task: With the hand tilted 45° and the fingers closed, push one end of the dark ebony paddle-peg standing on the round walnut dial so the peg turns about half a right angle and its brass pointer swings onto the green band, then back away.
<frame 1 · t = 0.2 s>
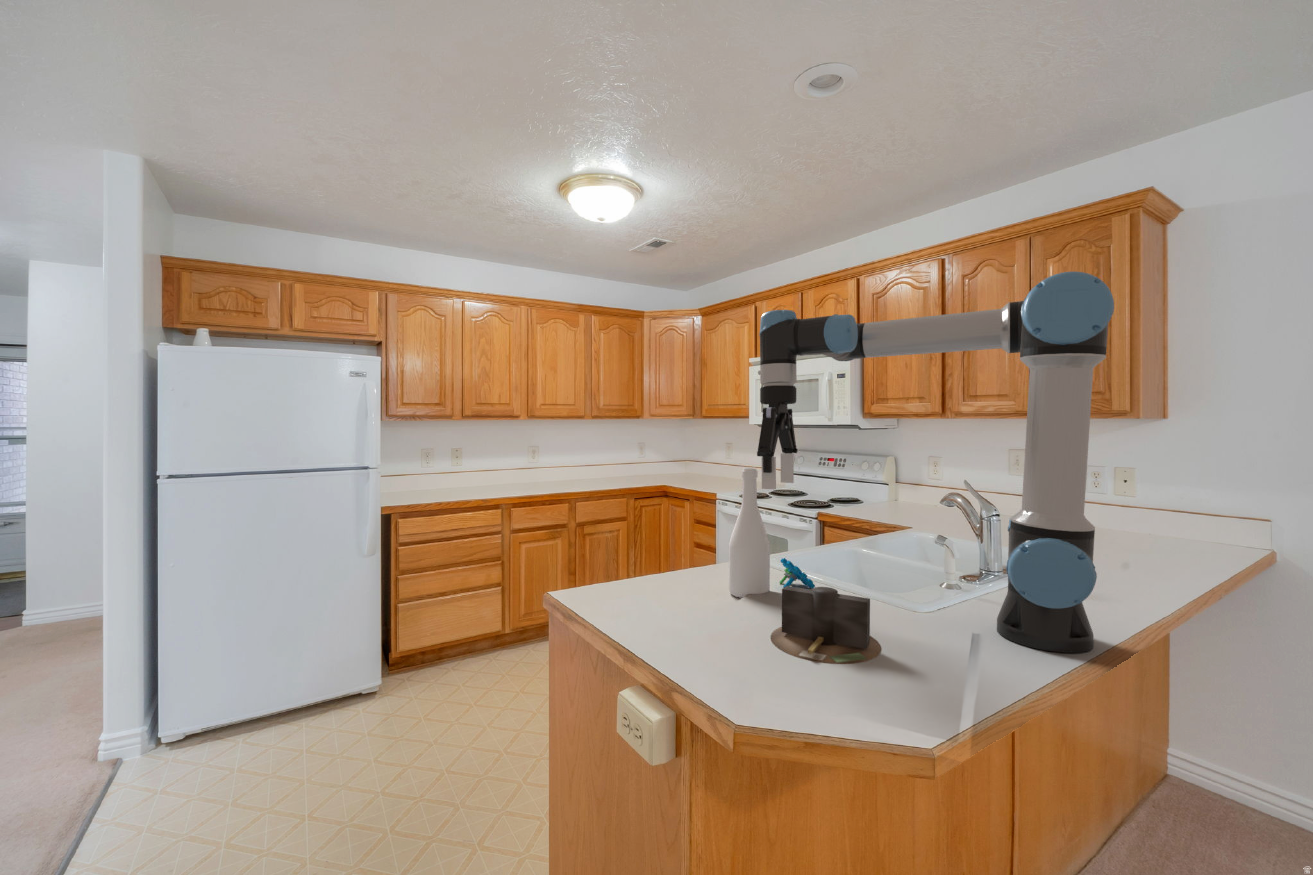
hand: (778, 485, 121), 27 cm above the counter, tool pointing down, fingers open, 13 cm apart
dial: (824, 649, 102), on the counter
wine bottle: (749, 594, 135), on the counter
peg: (819, 620, 99), point 6 cm above the counter, hinge at 0.0°
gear: (796, 588, 140), on the counter
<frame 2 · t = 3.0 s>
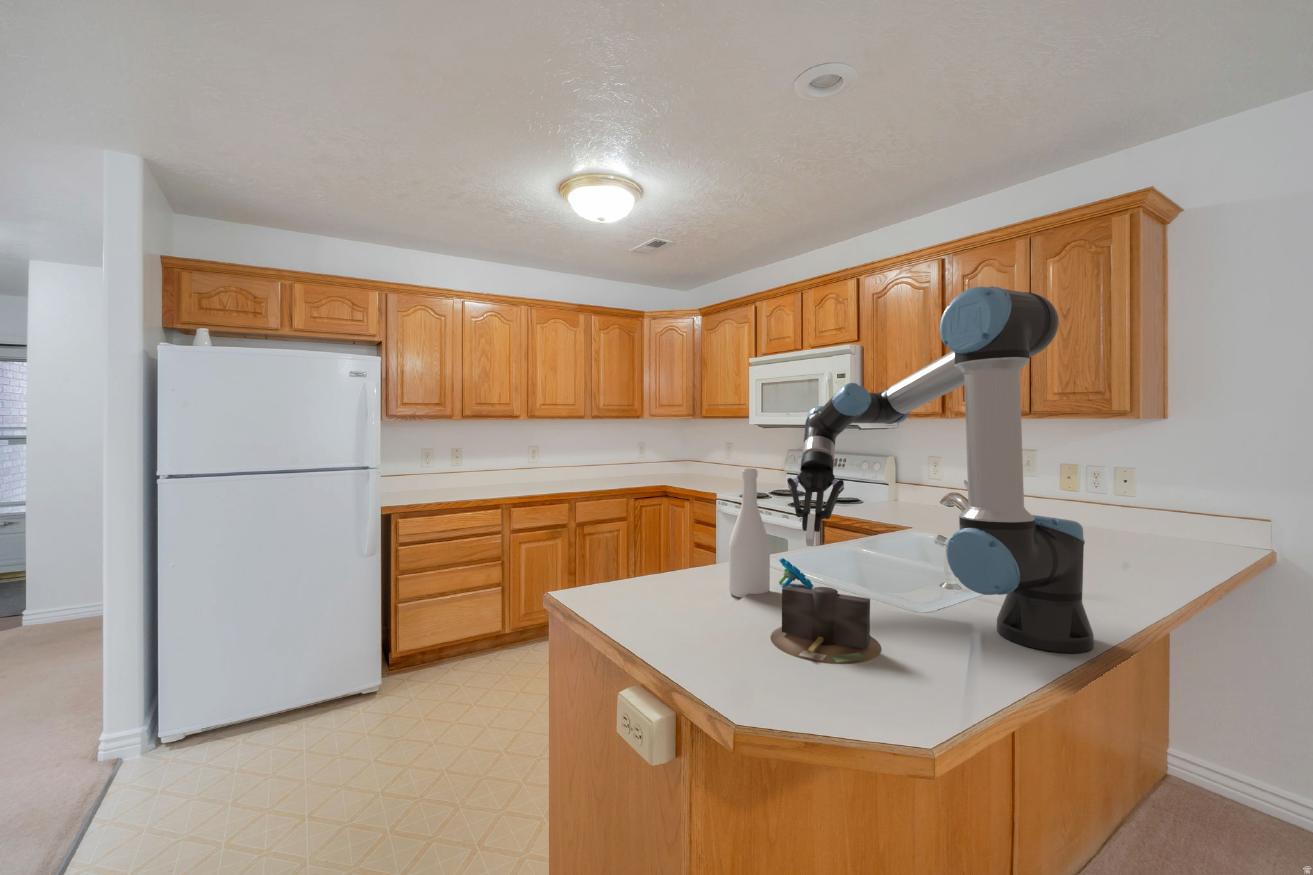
hand: (809, 542, 122), 15 cm above the counter, tool tilted 45°, fingers closed
nothing on the counter moved.
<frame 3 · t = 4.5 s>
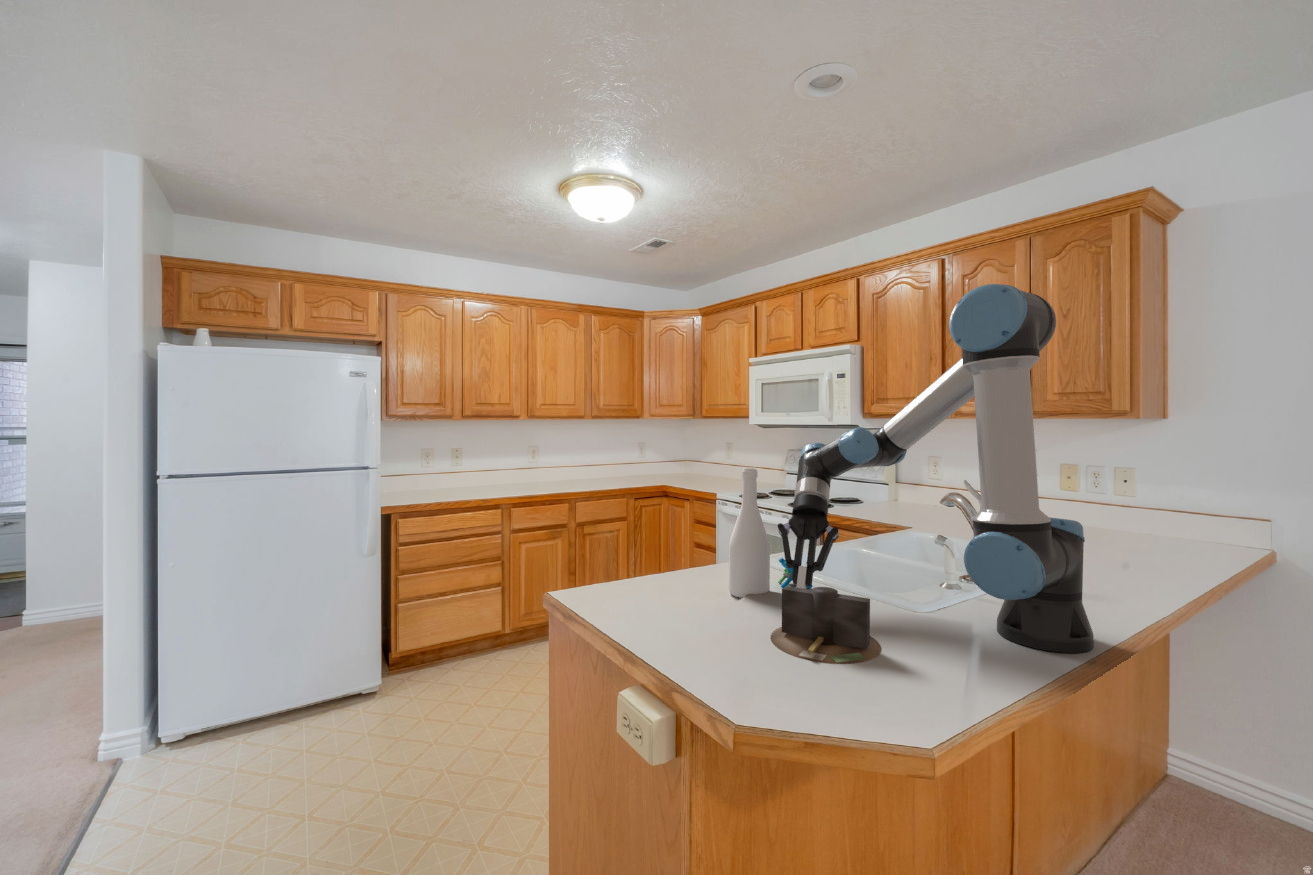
hand: (800, 598, 112), 6 cm above the counter, tool tilted 45°, fingers closed
nothing on the counter moved.
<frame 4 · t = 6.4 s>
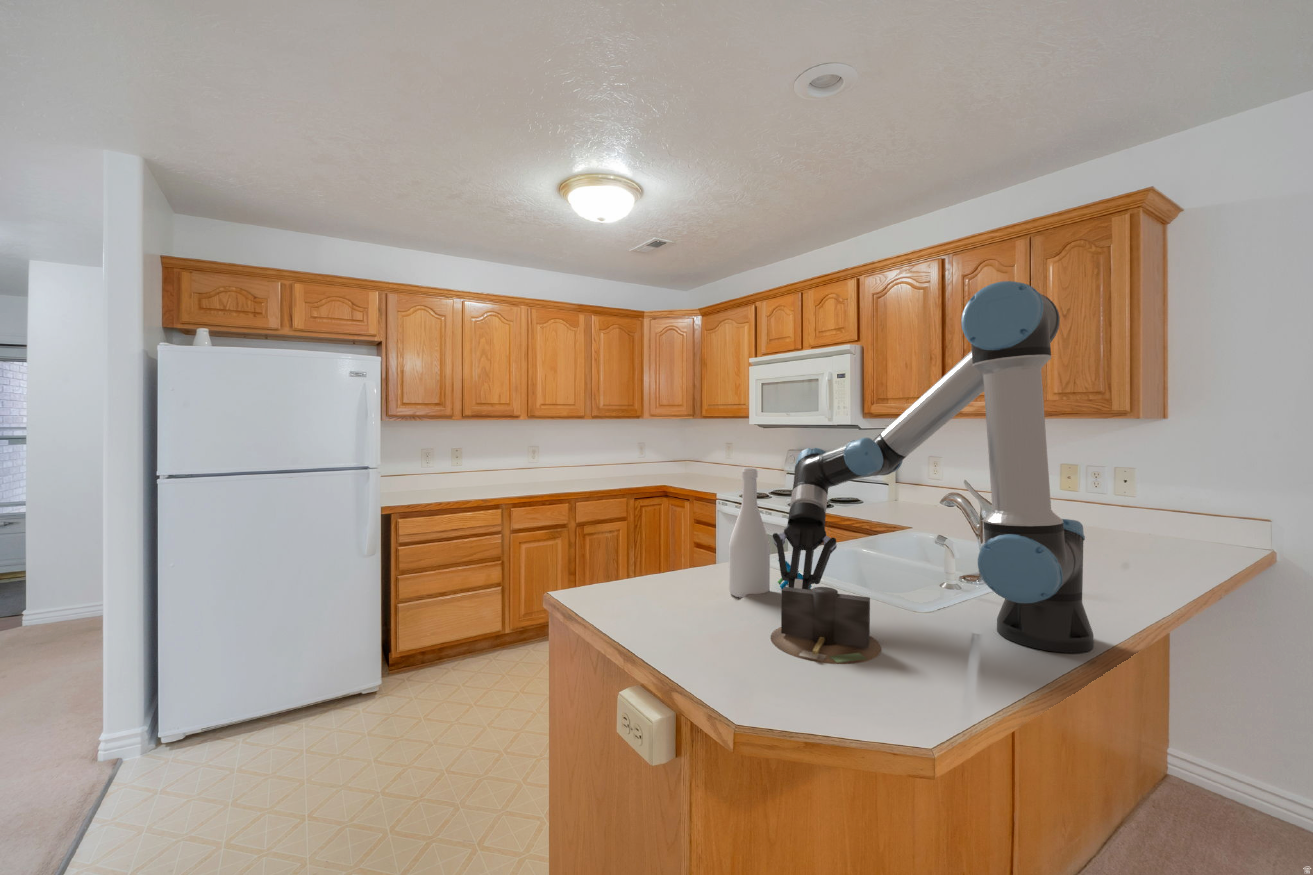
hand: (795, 613, 107), 5 cm above the counter, tool tilted 45°, fingers closed
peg: (821, 621, 99), point 6 cm above the counter, hinge at 5.0°, touching gripper
everything else where it was.
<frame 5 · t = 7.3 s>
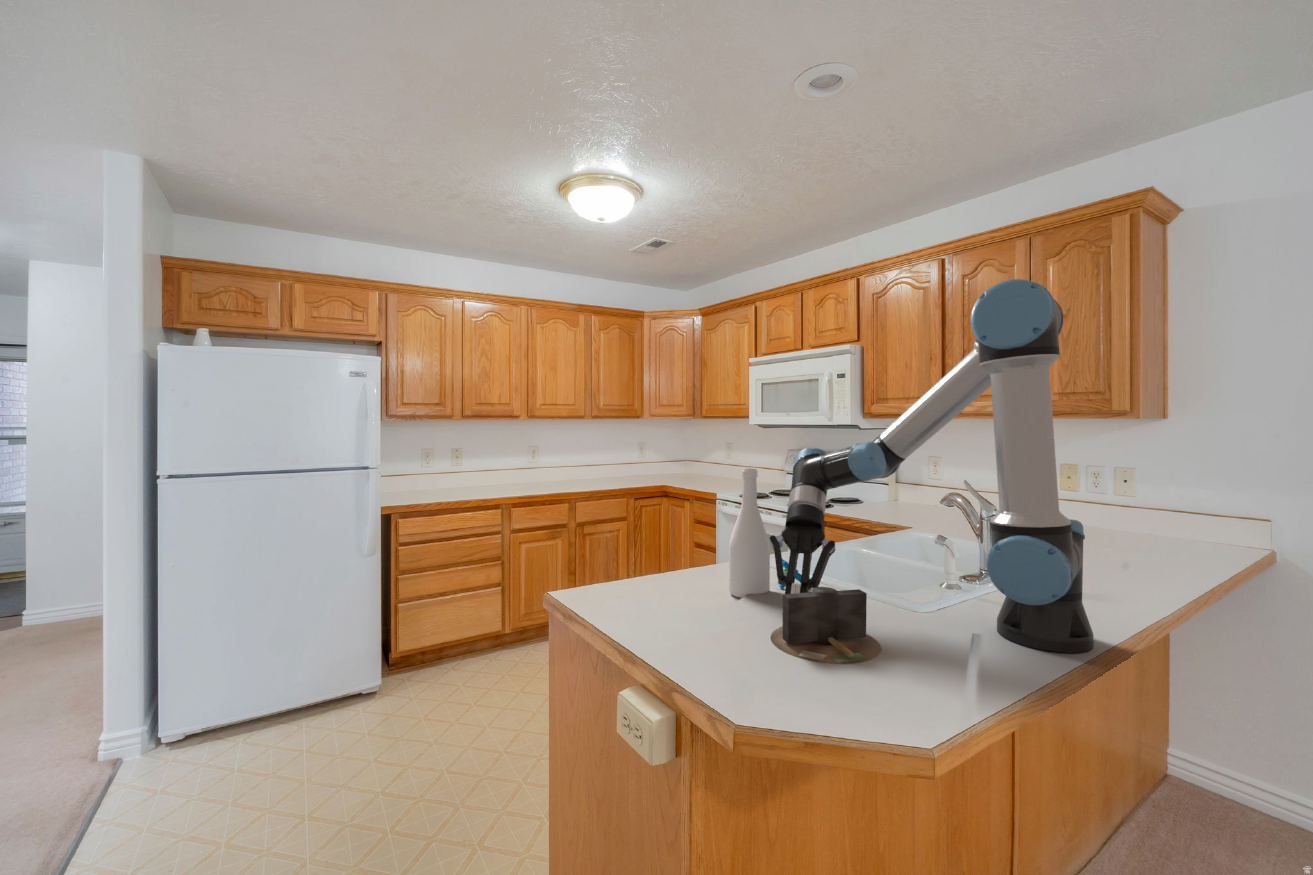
hand: (793, 619, 104), 5 cm above the counter, tool tilted 45°, fingers closed
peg: (834, 621, 99), point 6 cm above the counter, hinge at 42.5°, touching gripper
everything else where it was.
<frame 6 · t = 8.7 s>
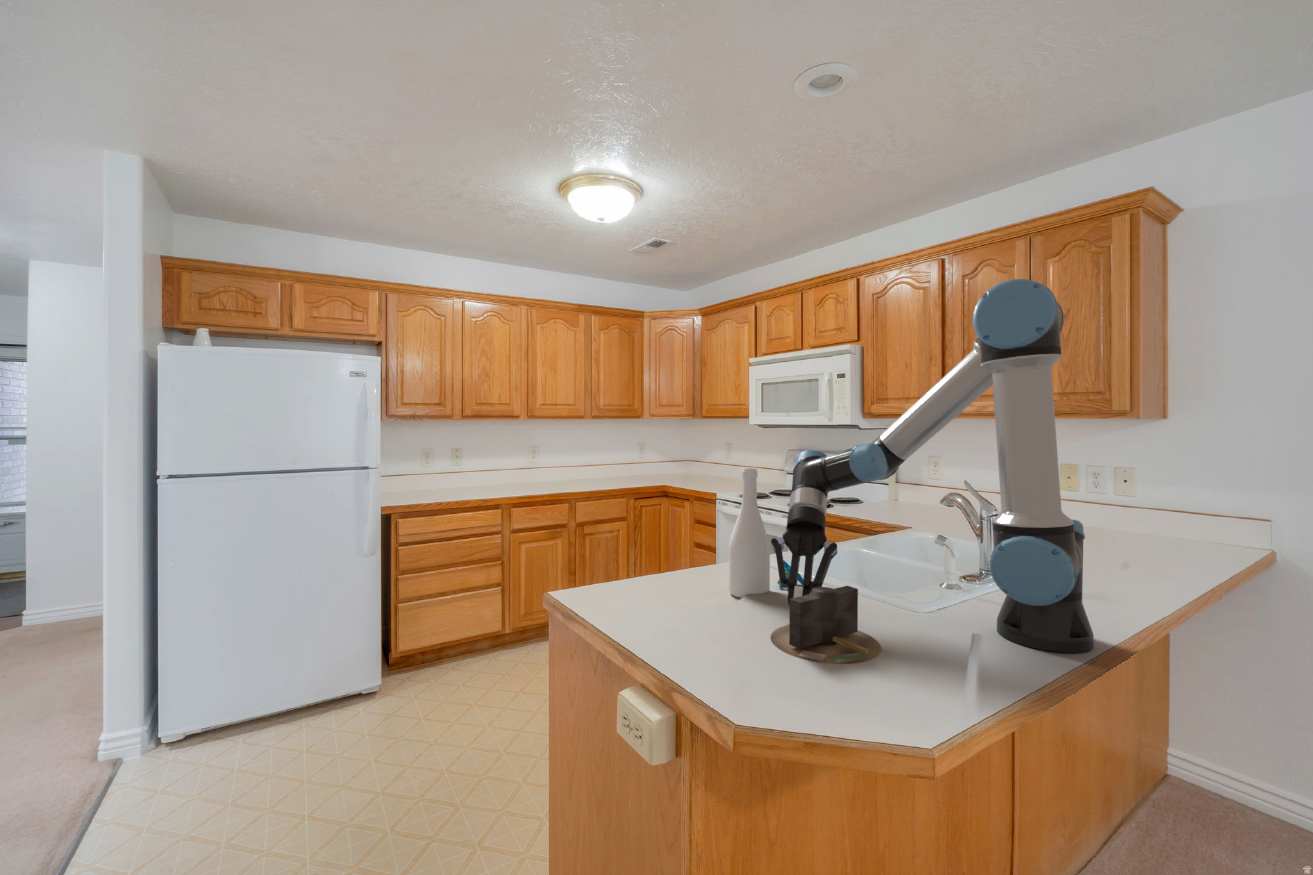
hand: (796, 622, 102), 5 cm above the counter, tool tilted 45°, fingers closed
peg: (839, 620, 99), point 6 cm above the counter, hinge at 63.2°
everything else where it was.
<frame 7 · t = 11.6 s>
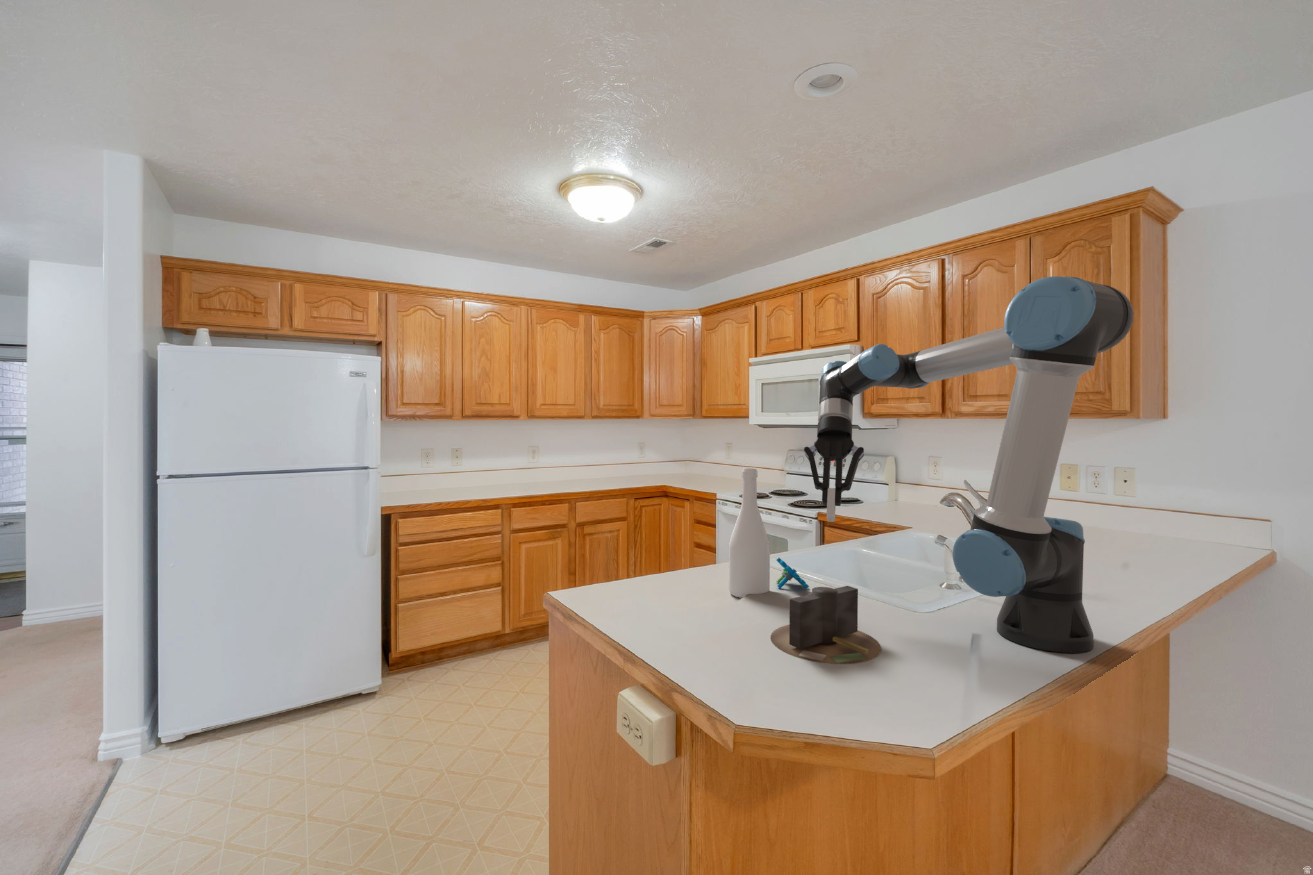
hand: (830, 519, 118), 21 cm above the counter, tool tilted 30°, fingers closed
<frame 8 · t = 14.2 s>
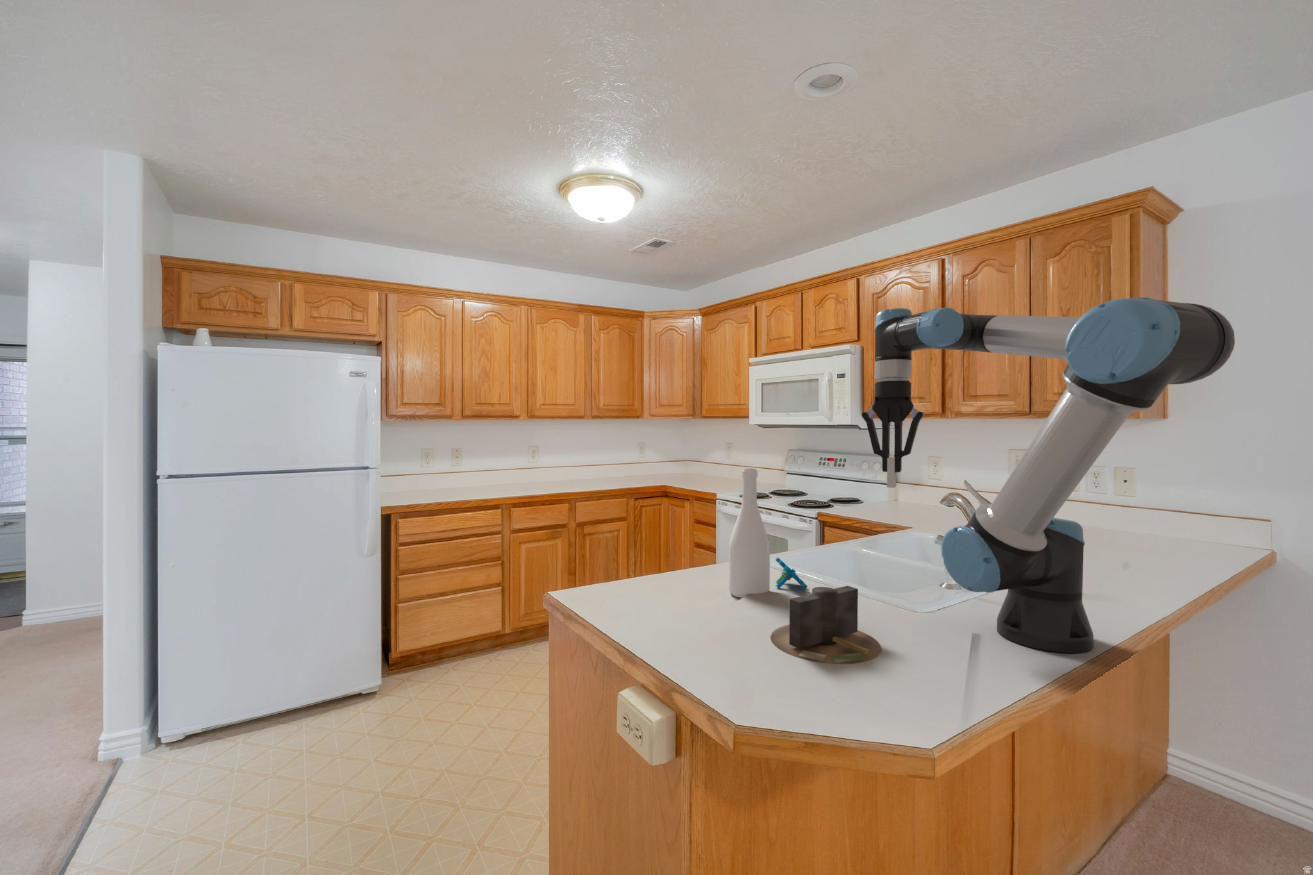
hand: (891, 486, 127), 26 cm above the counter, tool pointing down, fingers closed
at the end: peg at +63° (first picture: +0°); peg touching nothing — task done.
